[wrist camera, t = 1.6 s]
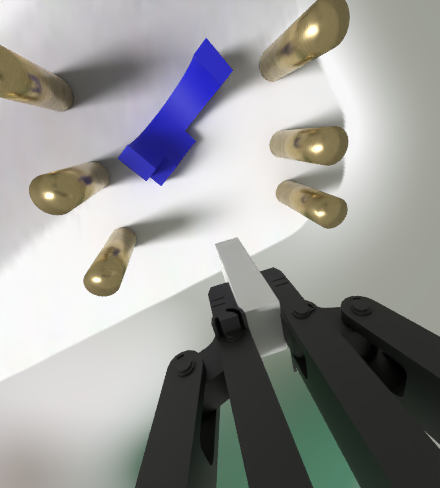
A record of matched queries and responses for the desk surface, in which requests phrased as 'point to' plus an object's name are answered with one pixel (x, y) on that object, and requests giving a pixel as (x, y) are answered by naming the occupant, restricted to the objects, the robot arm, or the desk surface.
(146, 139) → the blue curved block
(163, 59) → the desk surface
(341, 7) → the spacers
